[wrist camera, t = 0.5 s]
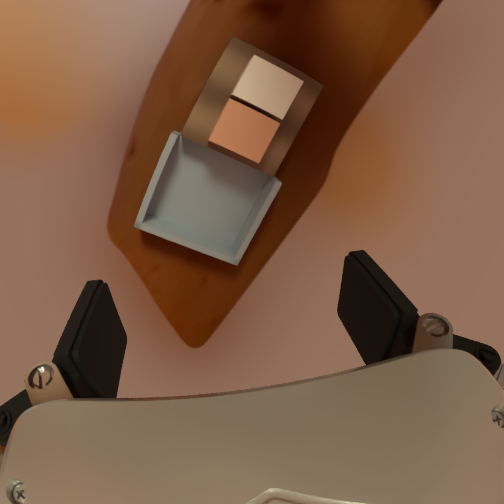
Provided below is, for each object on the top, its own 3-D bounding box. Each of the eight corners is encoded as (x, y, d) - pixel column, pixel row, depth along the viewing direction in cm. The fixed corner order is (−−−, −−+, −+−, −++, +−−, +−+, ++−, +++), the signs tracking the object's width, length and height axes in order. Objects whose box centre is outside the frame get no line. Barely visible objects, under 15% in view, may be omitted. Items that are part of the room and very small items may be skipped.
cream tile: (250, 58, 28) (254, 54, 26) (296, 82, 30) (303, 81, 28) (230, 95, 29) (232, 94, 27) (277, 118, 31) (282, 119, 29)
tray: (174, 130, 33) (171, 133, 30) (274, 175, 38) (282, 183, 34) (139, 215, 37) (133, 226, 34) (233, 251, 42) (237, 265, 39)
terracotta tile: (227, 98, 30) (229, 98, 27) (275, 122, 32) (280, 123, 29) (208, 137, 31) (208, 140, 29) (255, 159, 33) (258, 163, 31)
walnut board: (230, 42, 29) (232, 36, 26) (315, 86, 33) (324, 85, 30) (181, 133, 33) (180, 135, 31) (268, 172, 37) (273, 177, 35)
